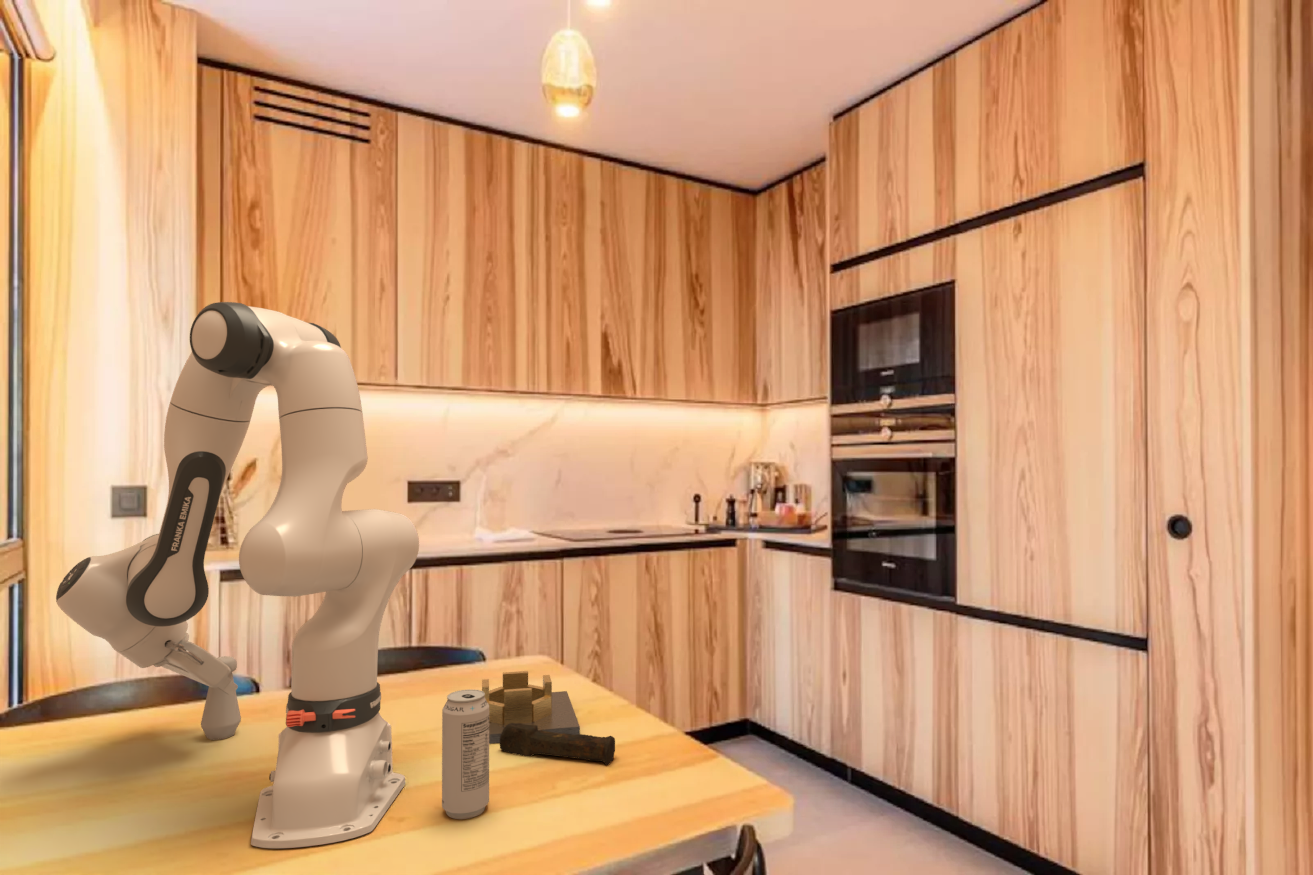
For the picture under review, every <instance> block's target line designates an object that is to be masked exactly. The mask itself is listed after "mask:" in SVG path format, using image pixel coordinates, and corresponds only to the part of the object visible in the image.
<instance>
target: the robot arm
mask: <svg viewBox="0 0 1313 875" xmlns="http://www.w3.org/2000/svg"><path fill="white" fill-rule="evenodd" d="M189 345H190V349H191V352H190V354H189V356H188V357H187V360H186V362H185V364H184V365H183V367H182V369H181V371H180V374H179V376H178V378H177V381H176V384H175V386H174V388H173V392H172V395H171V398H170V402H169V405H168V407H167V412H166V417H165V424H164V434H163V435H164V436H163V437H164V438H163V448H164V455H165V462H166V467H167V474H168V475H167V477H168V497H167V503H166V507H165V510H164V514H163V518H162V522H161V525H160V528H159V529H160V530H159V533H155V534H152V535H150V536H148V537H147V538H145V539H143V540H142V541H140V542H138V543H136V544H133V545H131V546H129V547H127V548H124V549H121V550H119V551H115V552H113V553H109V554H104V555H95V556H94V555H93V556H89V557H86V558H83V560H81V561H79V562H78V563H77V564H75V565H74V566H73V567H72V568H71V569H70V570H69V572H67V574H66V575H65V576H64V577H63V578H62V581H61V582H60V583H59V586H58V588H57V591H56V596H55V599H56V600H55V601H56V605H57V606H58V607H59V609H60V610H61V611H63V613H64V614H65V615H66V616H68V617H69V618H70V619H71V620H72V621H73V622H75V623H76V624H77V625H79V626H80V627H81V628H82V629H83V630H85V631H86V632H88V633H89V634H91V635H93V636H95V637H98V638H102V639H103V640H105V641H106V642H107V643H109V645H110V646H111V649H112V650H114V651H116V652H117V653H119V654H120V655H122V656H123V657H124V658H126V659H127V660H129V661H130V662H132V663H133V664H134V665H136V666H137V667H139V668H140V669H146V668H150V667H151V666H154V667H156V668H160V667H162V668H164V669H167V670H169V671H172V672H174V673H176V674H179V675H182V676H184V677H186V678H187V679H190V680H193V681H195V682H198V683H200V684H203V685H205V686H208V688H209V687H212V688H217V687H218V688H219V689H220V690H222V691H223V692H225V693H226V694H229V695H232V694H233V693H234V692H235V691H236V692H237V689H238V687H239V685H238V684H237V683H235V682H233V681H231V679H230V678H229V677H228V675H229V674H230V672H231V669H230V668H229V667H228V666H227V665H226V664H225V663H223V662H222V661H220V660H219V659H218V657H216V656H215V655H213V654H212V653H211V652H209V651H208V650H207V649H205V648H203V647H202V646H199V645H198V644H196V643H194V642H191V641H189V639H190V634H189V633H187V630H188V627H189V623H188V621H189V620H190V619H192V618H193V617H195V616H196V615H197V614H198V613H200V611H201V610H202V609H203V608H204V606H205V605H206V603H207V601H208V598H209V583H208V579H207V576H206V571H205V556H206V551H207V547H208V543H209V539H210V535H211V531H212V528H213V524H214V519H215V516H216V512H217V510H218V509H217V508H218V505H219V502H220V497H221V494H222V492H223V490H224V487H225V485H226V482H227V481H228V478H229V475H230V472H231V470H232V468H233V466H234V464H235V461H236V460H237V457H238V455H239V453H240V450H241V448H242V446H243V443H244V441H245V438H246V436H247V432H248V430H249V427H250V424H251V419H252V416H253V412H254V409H255V405H256V401H257V398H258V397H259V396H258V395H259V394H260V393H261V391H262V390H264V389H265V388H267V387H270V386H272V387H273V388H274V389H275V392H276V396H277V407H278V408H277V409H278V421H279V431H280V433H279V434H280V445H281V477H280V482H279V486H278V490H277V492H276V494H275V497H274V500H273V503H272V504H271V505H270V507H269V509H268V510H267V512H266V513H265V514H264V515H263V516H262V518H260V520H259V521H258V522H257V523H255V524H254V525H253V526H252V527H251V528H250V529H249V530H248V532H247V533H246V534H245V537H244V538H243V540H242V542H241V545H240V548H239V553H238V565H239V571H240V572H241V576H242V577H243V579H244V581H245V583H246V584H247V585H248V586H249V588H251V589H252V590H253V591H254V592H255V593H257V594H259V595H261V596H272V597H301V596H309V595H314V594H320V593H324V596H323V600H322V602H321V604H320V606H319V607H318V609H317V610H316V612H315V613H314V614H313V615H312V617H311V618H309V619H308V620H307V621H306V622H305V623H304V624H302V625H301V626H300V628H299V629H297V631H296V633H294V636H293V640H292V643H291V684H290V685H291V688H290V689H291V690H290V693H289V694H288V695H287V703H286V706H285V708H286V709H285V713H286V715H285V716H286V718H285V725H286V727H285V728H284V729H283V730H281V732H279V733H278V751H277V752H278V753H277V757H276V765H275V769H274V770H271V771H270V773H269V776H268V777H269V781H270V782H271V783H273V785H269V786H267V787H264V788H263V789H261V790H260V792H259V797H258V803H257V808H256V810H255V812H256V813H255V817H254V822H253V828H252V833H251V840H250V845H252V847H257V848H263V849H292V848H304V847H312V846H318V845H319V846H320V845H327V844H333V843H337V842H343V841H347V840H350V839H354V838H357V837H361V836H364V835H366V834H369V833H371V832H372V831H373V830H374V829H375V828H376V826H377V825H378V824H379V822H380V821H381V819H382V818H383V816H384V815H385V814H386V812H387V811H388V810H389V808H390V807H391V805H392V804H393V802H394V800H396V798H397V797H398V795H399V794H400V792H401V791H402V790H403V789H404V786H405V785H406V776H405V775H404V774H402V773H398V772H394V771H393V770H394V769H393V767H394V766H393V741H392V740H393V739H392V725H391V724H390V723H389V722H388V721H386V720H385V719H384V718H383V716H382V715H381V714H380V710H381V700H382V692H381V684H380V683H379V682H378V658H379V657H378V656H379V640H380V638H379V637H380V631H381V626H382V621H383V616H384V614H385V612H386V609H387V606H388V603H389V600H390V598H391V596H392V594H393V592H394V590H395V588H396V587H397V584H398V583H399V582H400V581H401V579H402V578H403V577H404V575H406V573H407V572H408V571H409V570H410V569H411V568H412V567H413V566H414V564H415V563H416V561H417V558H418V554H419V550H420V538H419V533H418V530H417V529H416V526H415V524H414V522H413V521H412V520H411V519H410V518H409V517H408V516H406V515H405V514H403V513H400V512H396V511H395V512H394V511H390V510H385V509H384V510H383V509H378V508H369V509H355V510H342V500H343V496H344V491H345V489H346V488H347V486H348V484H349V483H351V482H353V481H354V480H355V479H357V478H359V476H360V475H361V474H362V473H363V472H364V470H365V469H366V467H367V464H368V460H369V459H368V458H369V457H368V451H367V450H368V449H367V439H366V431H365V423H364V415H363V408H362V401H361V395H360V390H359V385H358V381H357V377H356V374H355V370H354V369H353V368H354V367H353V365H352V362H351V360H350V357H349V355H348V353H347V352H346V350H344V349H343V348H342V346H341V343H340V341H339V339H338V338H337V337H336V336H335V335H334V334H333V333H332V332H331V331H329V330H327V329H326V328H325V327H322V326H321V325H320V324H319V325H318V324H316V323H314V322H307V321H305V320H303V319H299V318H296V317H293V316H291V315H288V314H285V313H284V312H281V311H277V310H272V309H267V308H262V307H258V306H257V307H256V306H249V305H246V304H244V303H241V302H234V301H220V302H213V303H209V304H208V305H206V306H205V307H204V308H202V309H201V310H200V311H199V313H197V315H196V317H195V318H194V319H193V322H192V324H191V328H190V331H189Z"/></svg>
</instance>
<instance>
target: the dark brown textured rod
mask: <svg viewBox="0 0 1313 875" xmlns="http://www.w3.org/2000/svg"><path fill="white" fill-rule="evenodd" d="M499 749H500V750H501V751H503V752H505V753H509V754H512V753H514V755H518V754H520V755H519V756H523V755H524V757H531V755H532V756H533V754H534V755H537V754H538V755H547V756H558V757H564V758H573V759H580V760H586V761H591V762H592V761H593V762H595V761H596V762H603V763H604V764H605V765H606V766H609V765H610V764H611V763H612V762H613V760H614V756H615V753H616V738H615V737H614V736H613V735H609V736H596V735H592V734H590V735H589V734H581V733H580V734H577V735H573V734H565V733H555V732H548V731H543V730H540V731H539V730H538V727H537V725H527V724H521V723H509V724H508V725H507V726H505V728H504V729H503V732H502V734H501V736H500V743H499Z"/></svg>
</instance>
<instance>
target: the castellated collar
mask: <svg viewBox="0 0 1313 875" xmlns="http://www.w3.org/2000/svg"><path fill="white" fill-rule="evenodd" d="M552 682H553V681H552V678H551V676H550V674H545V675H544V674H543V675H542V686H539V685H534V684H529V671H528V670H521V671H519V670H517V671H506V672H505V671H504V672H502V686H498V687H496V688H494V689H493V688H492V689H491V690H490V679H489V678H487V679H485V678H484V679H482V680H481V691H483V692H484V693H485V696H484V697H485V699H486V701H487V703H488V704H489V745H491V744H500V736H501V734H502V732H503V729H504V728H505V726H507V725H508V724H509V723H521V724H527V725H537V727H538V730H539V731H540V730H543V731H548V732H555V733H565V734H573V735H577V734H581V726H580V723H579V720H578V718H577V715H576V713H575V709H574V707H573V704H572V701H571V699H570V696H569V693H568V691H567V690H565V691H563V690H562V691H552V690H553V687H552V686H553V685H552V684H553V683H552Z"/></svg>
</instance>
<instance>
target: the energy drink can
mask: <svg viewBox="0 0 1313 875" xmlns="http://www.w3.org/2000/svg"><path fill="white" fill-rule="evenodd" d="M484 696H485V693H484V692H483V691H482V690H480V689H461V690H457V691H456V690H455V691H453V692H450V693H449V694H448V695H447V696H446V701H445V704H444V706H443V707H442V712H441V714H442V718H441V725H442V726H441V727H442V728H441V729H442V731H441V733H442V734H441V735H442V736H441V743H442V744H441V746H442V747H441V752H442V753H441V807H442V810H444V811H445V813H446V815H447V816H448V817H449V818H452V819H455V820H465V819H466V820H467V819H472V818H474V817H477V816H480V815H481V814H483V813H484V811H485V809H486V806H487V805H488V804H489V802H490V744H489V704H488V703H487V701H486V699H485V697H484Z"/></svg>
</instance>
